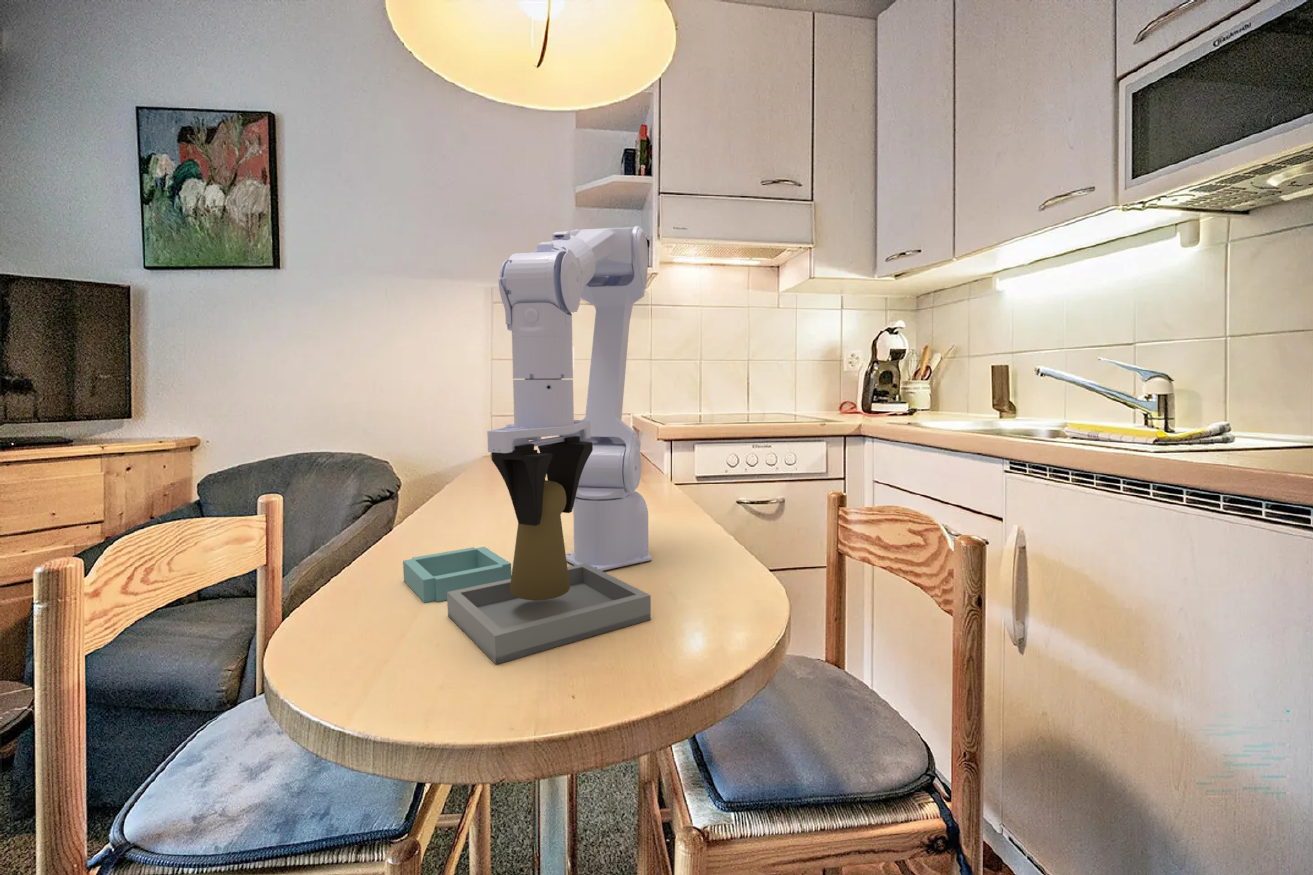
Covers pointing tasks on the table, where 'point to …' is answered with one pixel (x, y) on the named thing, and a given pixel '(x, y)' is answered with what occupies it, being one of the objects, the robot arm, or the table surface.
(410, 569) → the teal collar
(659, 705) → the table surface
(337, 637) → the table surface
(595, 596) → the charcoal tray
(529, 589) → the cork
